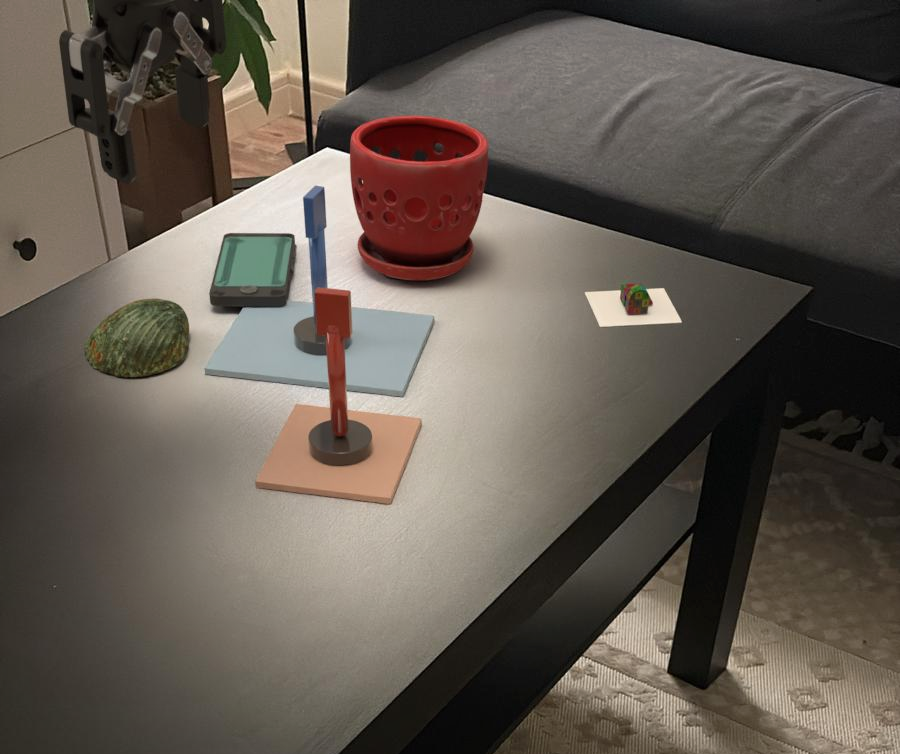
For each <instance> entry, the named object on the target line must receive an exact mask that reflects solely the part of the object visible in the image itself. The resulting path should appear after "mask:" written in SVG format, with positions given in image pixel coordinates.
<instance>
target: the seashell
mask: <svg viewBox="0 0 900 754" xmlns="http://www.w3.org/2000/svg"><path fill="white" fill-rule="evenodd" d="M189 332H190V323H189V318H188V316H187V313H186V311H185V310H184V308H183V307H182V306H181V305H180V304H178V303H176V302H174V301H172V300H168V299H162V298H144V299H138V300H135V301H132V302H130V303H128V304H126V305H124V306H122V307H119V308H118V309H117V310H115V311H114V312H112V313H111V314H109V315H108V316H107V317H106V318H104V319H103V320H102V321H101V322H100V323H99V325H98V326H97V327H96V328H94V330H93V331H92V332H91V334H90V335H89V336H88V338H87V340H86V342H85V344H84V355H85V358H86V359H87V360H88V361H89V364H90V365H92V367H93V368H94V369H95V370H96V369H97V370H99V371H100V372H101V373H105V374H107V375H110V376H111V375H114V377H117V378H125V379H127V378H138V377H148V376H152V375H156V374H160V373H163V372H165V371H169V370H171V369H172V368H174V367H176V366H177V365H179V364H181V363H182V362H183V361H185V358H186V356H187V352H188V350H189V347H190V343H189V341H188V337H187V336H188V335H189Z"/></svg>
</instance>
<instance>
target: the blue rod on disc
mask: <svg viewBox="0 0 900 754" xmlns="http://www.w3.org/2000/svg"><path fill="white" fill-rule="evenodd" d="M302 202H303V203H302V204H303V217H304V219H303V220H304V229H305V230H304V231H305V232H304V234H305V238H306V239H307V240H308V252H309V253H308V254H309V266H310V267H309V268H310V281H311V283H310V284H311V297H312V298H311V299H312V303H313V314H314V316H313V317H308V318H305V319H303V320H301V321H299V322H298V323H297V324H296V325H295V327H294V330H293V331H294V343H295V345H296V347H297V348H298V349H299V350H301V351H303V352H305V353H308V354H312V355H327V350H326V336H323V335H317V326H316V311H315V296H314V292H315V290H316V289H317V287H321V288H329V287H328V270H327V269H328V268H327V254H326V253H327V252H326V235H325V234H326V233H325V229H327V209H326V207H327V206H326V192H325V186H320V185H314V186H313V187H312V188H311V189H310V190H309V191H308V192H307V193H305V195H303V197H302ZM351 341H352V340H351V337H350V338H344V344H345V349H347V348H348V347H349V346H350V344H351Z"/></svg>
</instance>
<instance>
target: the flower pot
mask: <svg viewBox="0 0 900 754" xmlns="http://www.w3.org/2000/svg"><path fill="white" fill-rule="evenodd" d="M349 142H350V145H349V147H350V148H349V171H350V174H349V175H350V183H351V184H350V185H351V192H352V198H353V203H354V207H355V212H356V215H357V218H358V221H359V224H360V226H361V229H362V230H363V233H362V234H361V235H360V236H359V238H358V240H357V250H358V253H359V255H360V257H361V259H362V260H363V262H364V263H365V264H366V265H367V266H368V267H370V268H371V269H372V270H374V271H376V272H378V273H380V274H382V275H384V276H386V277H387V278H388V279H398V280H406V281H430V280H431V281H432V280H438V279H442V278H446V277H449V276H451V275H454V274H456V273H457V272H459V271H460V270H462V269H463V268H464V267H465V266H467V264H468V263H469V262H470V260H472V256H473V254H474V249H475V245H474V242H473V240H472V238H471V237H470V236H471V234H472V232H473V230H474V228H475V226H476V223H478V219H479V216H480V213H481V209H482V204H483V197H484V190H485V186H486V181H487V176H488V162H489V161H488V160H489V142H488V139H487V138H486V137H485V135H483V134H482V133H481V132H480V131H479V130H477V129H476V128H473V127H471V126H470V125H467V124H465V123H462V122H460V121H457V120H453V119H452V120H451V119H447V118H442V117H436V116H428V115H427V116H426V115H395V116H389V117H382V118H377V119H374V120H373V119H372V120H371V121H368V122H365V123H363V124H360V126H358V127H357V128H356V129H355V130H354V131H353V132H352V133H351V137H350V141H349ZM436 144H439V145H441V146H442V148H443V149H442V151H441V152H438V151H437V150H436ZM372 148H377V150H378V153H377V152H375V151H373V150H371V149H372ZM395 151H397V152H398V156H397V158H394V157H391V154H392V153H393V152H395ZM418 151H421V152H423V153H424V154H425V155H426V159H425V160H424V161H416V160H415V154H416V152H418ZM459 155H461V156H462V157H459Z"/></svg>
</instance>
